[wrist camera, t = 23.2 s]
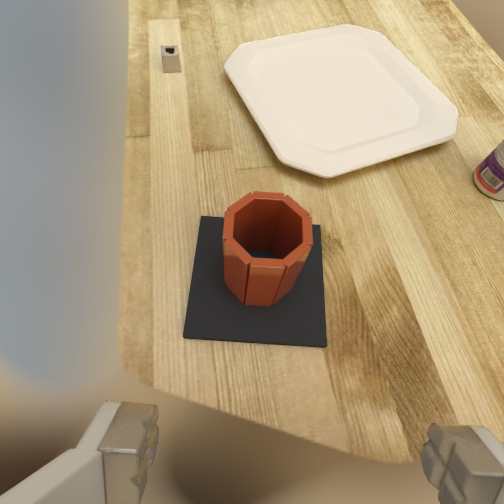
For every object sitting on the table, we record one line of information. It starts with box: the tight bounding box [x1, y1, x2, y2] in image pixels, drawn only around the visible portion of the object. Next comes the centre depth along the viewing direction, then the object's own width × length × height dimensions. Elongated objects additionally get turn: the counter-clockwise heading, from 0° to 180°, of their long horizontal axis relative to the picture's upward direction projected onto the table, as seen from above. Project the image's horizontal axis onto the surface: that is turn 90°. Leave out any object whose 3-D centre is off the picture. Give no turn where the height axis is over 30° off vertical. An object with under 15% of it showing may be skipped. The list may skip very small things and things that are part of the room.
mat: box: [183, 216, 327, 348], centre depth 30 cm, size 12×12×1 cm
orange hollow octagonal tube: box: [223, 191, 313, 306], centre depth 26 cm, size 6×6×8 cm
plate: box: [224, 24, 458, 178], centre depth 41 cm, size 25×25×2 cm
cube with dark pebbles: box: [161, 45, 181, 72], centre depth 42 cm, size 2×2×2 cm
